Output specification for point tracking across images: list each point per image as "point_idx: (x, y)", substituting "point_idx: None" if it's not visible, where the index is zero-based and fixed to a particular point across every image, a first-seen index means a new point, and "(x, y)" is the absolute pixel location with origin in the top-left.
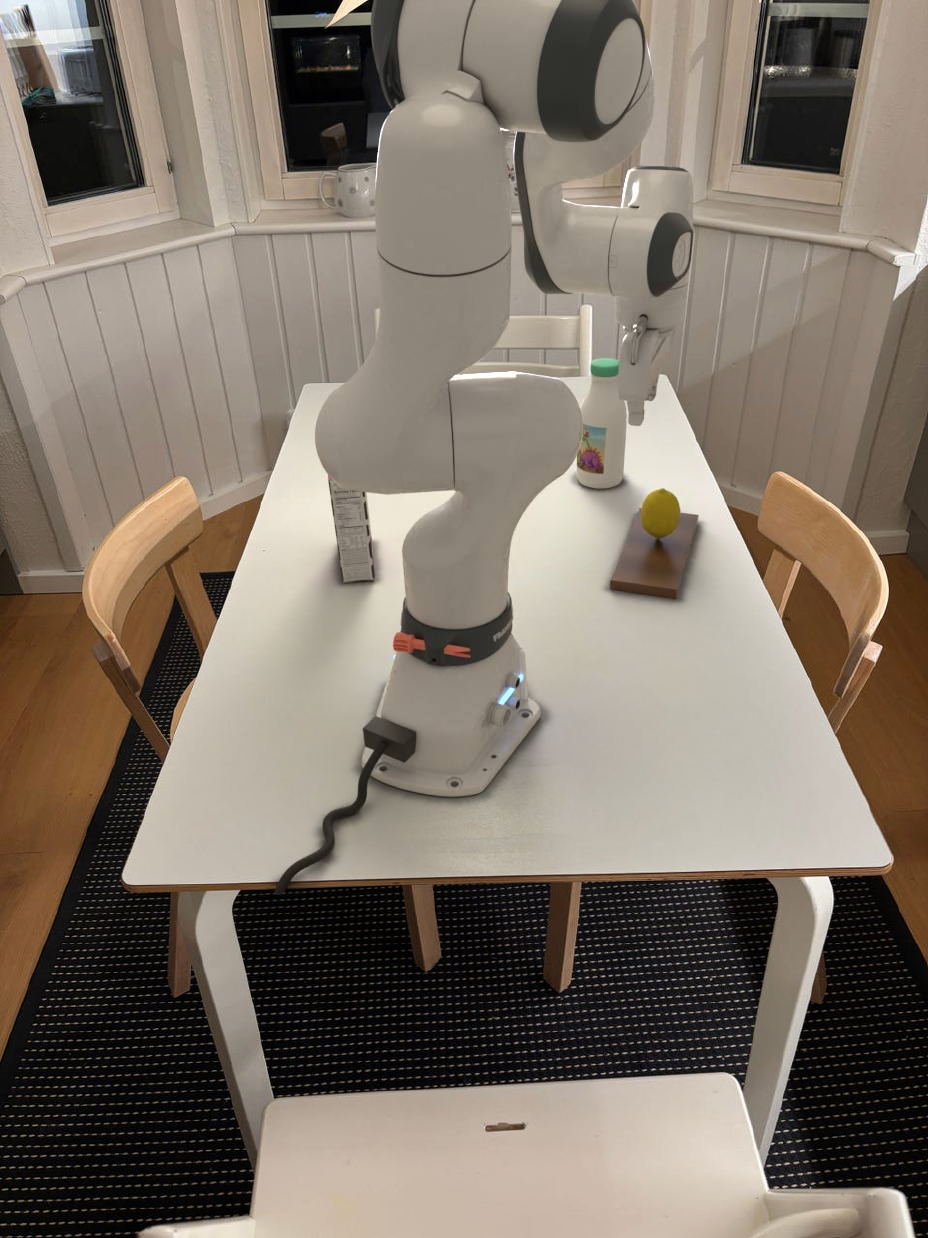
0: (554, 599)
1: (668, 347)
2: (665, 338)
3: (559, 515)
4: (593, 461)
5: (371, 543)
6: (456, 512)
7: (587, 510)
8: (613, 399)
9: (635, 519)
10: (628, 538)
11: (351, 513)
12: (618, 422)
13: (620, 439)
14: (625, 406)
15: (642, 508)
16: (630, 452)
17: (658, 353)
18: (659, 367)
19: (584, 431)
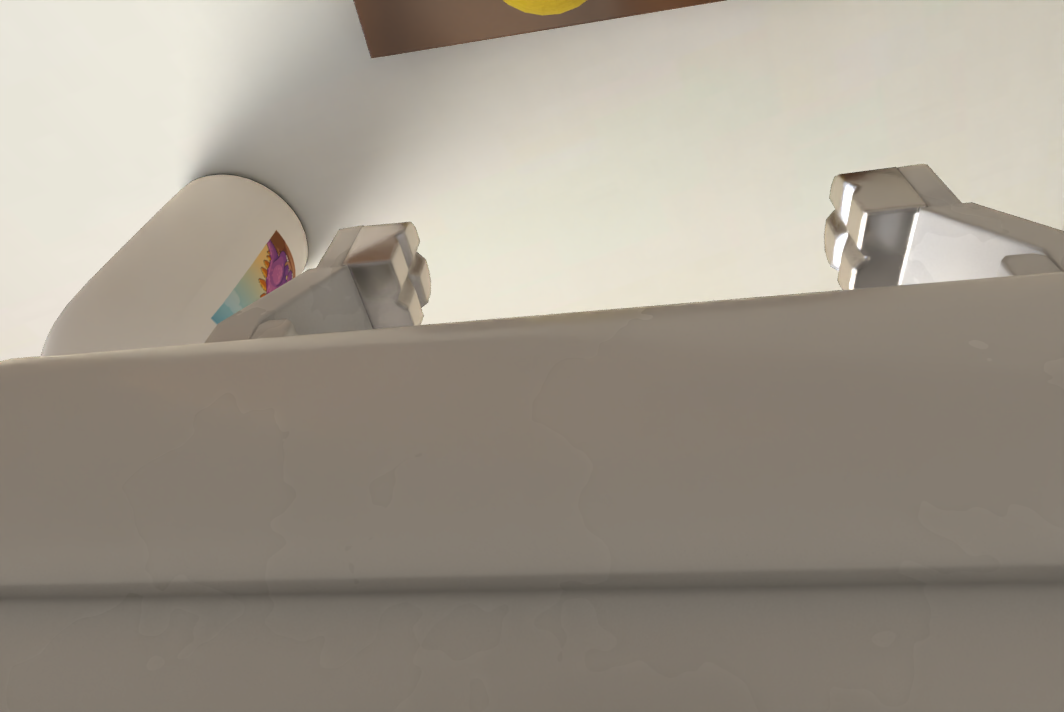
0: (939, 107)
1: (35, 431)
2: (172, 584)
3: (489, 253)
4: (279, 277)
5: None
6: None
7: (426, 200)
8: None
9: (454, 41)
10: (587, 17)
11: None
12: (160, 298)
13: (177, 253)
14: (72, 319)
15: (582, 3)
16: (33, 211)
17: (838, 546)
18: (627, 365)
19: None
